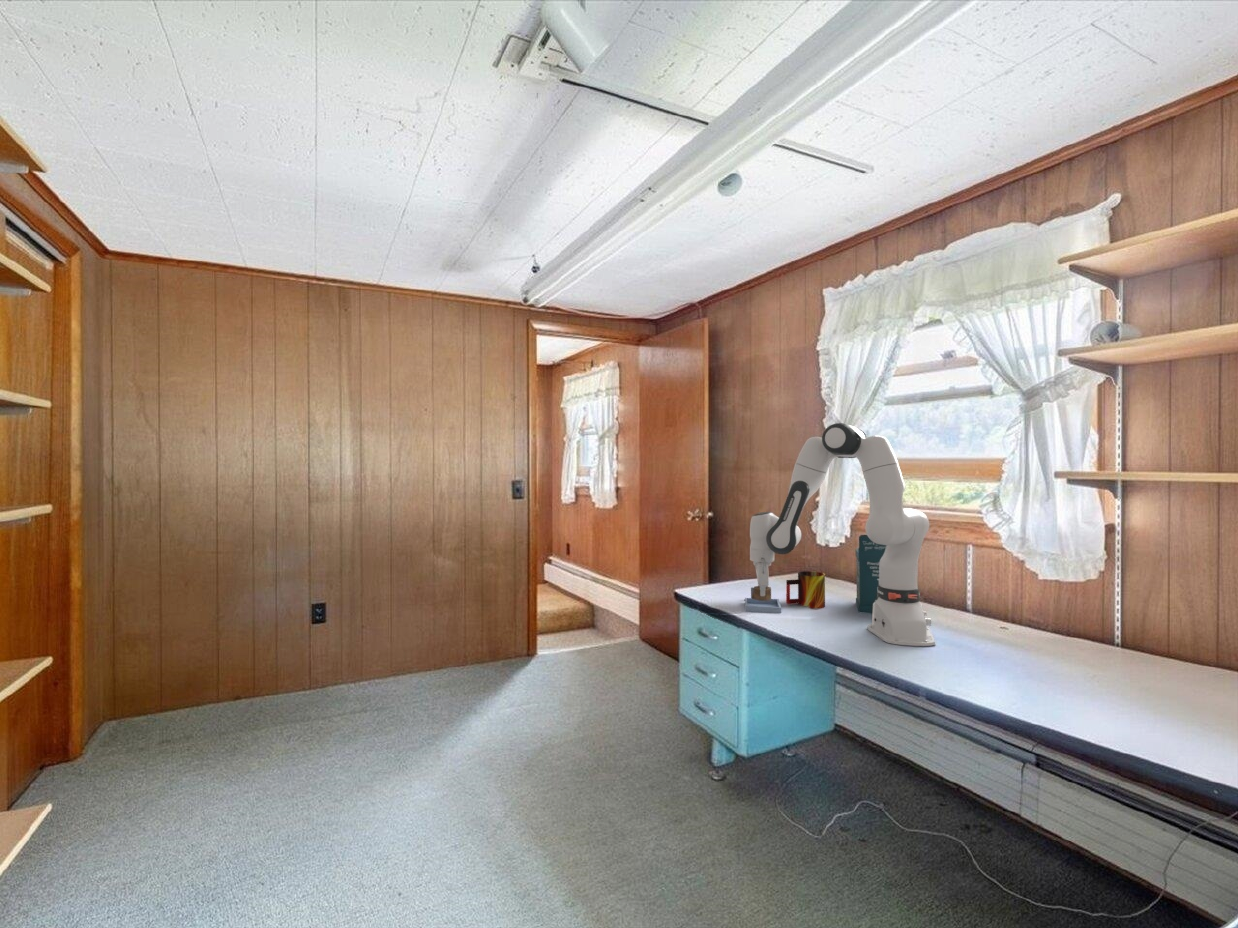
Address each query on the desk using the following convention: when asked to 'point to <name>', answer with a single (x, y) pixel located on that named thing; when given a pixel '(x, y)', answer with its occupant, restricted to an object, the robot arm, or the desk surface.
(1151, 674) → the desk surface
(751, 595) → the grey peg stand
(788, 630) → the desk surface
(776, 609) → the tray
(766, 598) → the ring
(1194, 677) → the desk surface
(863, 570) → the donation box
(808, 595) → the mug
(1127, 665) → the desk surface
